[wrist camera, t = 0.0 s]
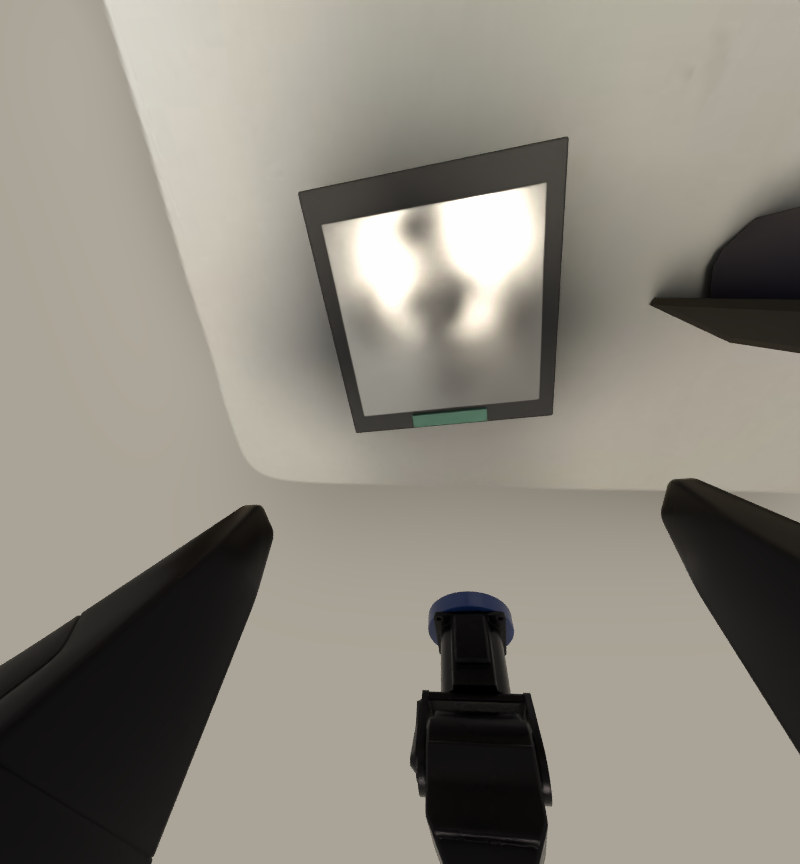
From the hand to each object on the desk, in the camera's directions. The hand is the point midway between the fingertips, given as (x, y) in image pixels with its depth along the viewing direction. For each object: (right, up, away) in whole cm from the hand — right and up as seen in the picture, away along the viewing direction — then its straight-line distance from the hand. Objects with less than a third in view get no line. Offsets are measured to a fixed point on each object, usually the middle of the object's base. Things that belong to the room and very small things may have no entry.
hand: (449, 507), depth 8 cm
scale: (+1, +9, +12) cm, 15 cm away
